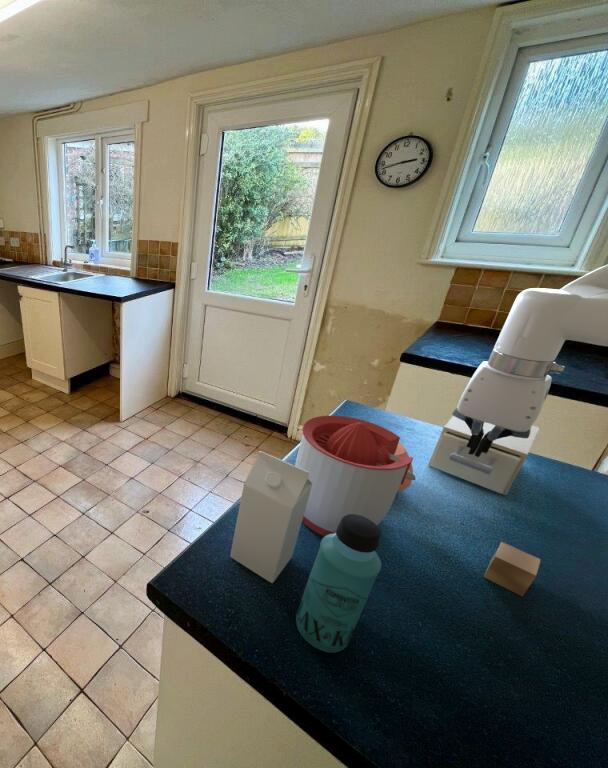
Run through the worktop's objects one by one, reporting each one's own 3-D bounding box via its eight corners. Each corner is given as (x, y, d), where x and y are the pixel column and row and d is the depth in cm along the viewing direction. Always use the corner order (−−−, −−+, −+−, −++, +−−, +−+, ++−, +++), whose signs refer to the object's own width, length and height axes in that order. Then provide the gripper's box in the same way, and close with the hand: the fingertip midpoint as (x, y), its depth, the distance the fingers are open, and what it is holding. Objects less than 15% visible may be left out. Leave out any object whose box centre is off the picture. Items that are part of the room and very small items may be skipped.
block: (527, 580, 63) (541, 559, 61) (522, 596, 60) (536, 575, 58) (489, 561, 66) (501, 541, 64) (483, 577, 63) (495, 556, 61)
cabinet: (505, 495, 80) (528, 454, 76) (427, 465, 88) (443, 426, 84) (519, 465, 88) (540, 427, 84) (446, 440, 97) (462, 404, 93)
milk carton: (250, 533, 71) (270, 441, 63) (292, 557, 67) (319, 461, 58) (229, 557, 67) (247, 461, 58) (272, 584, 62) (298, 484, 54)
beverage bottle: (286, 611, 58) (318, 501, 50) (336, 617, 57) (378, 506, 49) (300, 659, 52) (340, 543, 44) (356, 666, 52) (408, 550, 43)
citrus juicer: (406, 565, 65) (453, 461, 57) (287, 540, 70) (314, 441, 61) (377, 500, 79) (411, 408, 70) (279, 483, 83) (300, 394, 75)
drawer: (495, 507, 75) (513, 473, 72) (421, 477, 83) (435, 444, 80) (515, 466, 86) (531, 434, 83) (448, 442, 94) (461, 413, 91)
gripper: (584, 371, 67) (532, 463, 75) (468, 346, 77) (433, 429, 85) (580, 384, 63) (525, 480, 71) (457, 356, 73) (421, 442, 81)
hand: (475, 452), depth 78 cm, fingers closed
